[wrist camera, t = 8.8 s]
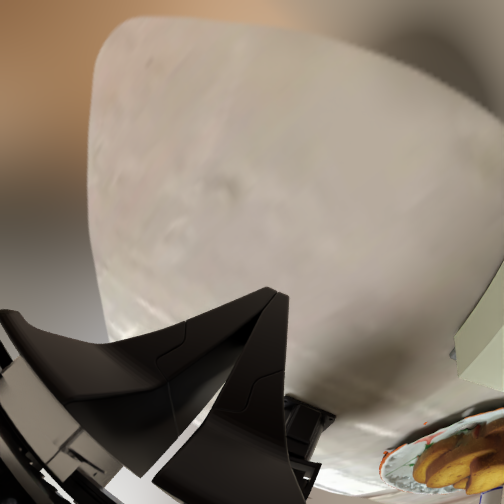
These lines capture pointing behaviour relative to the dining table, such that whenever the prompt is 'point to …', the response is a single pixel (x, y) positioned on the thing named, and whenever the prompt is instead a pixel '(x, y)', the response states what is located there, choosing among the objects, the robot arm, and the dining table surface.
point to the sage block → (484, 339)
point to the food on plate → (450, 459)
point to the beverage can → (492, 496)
